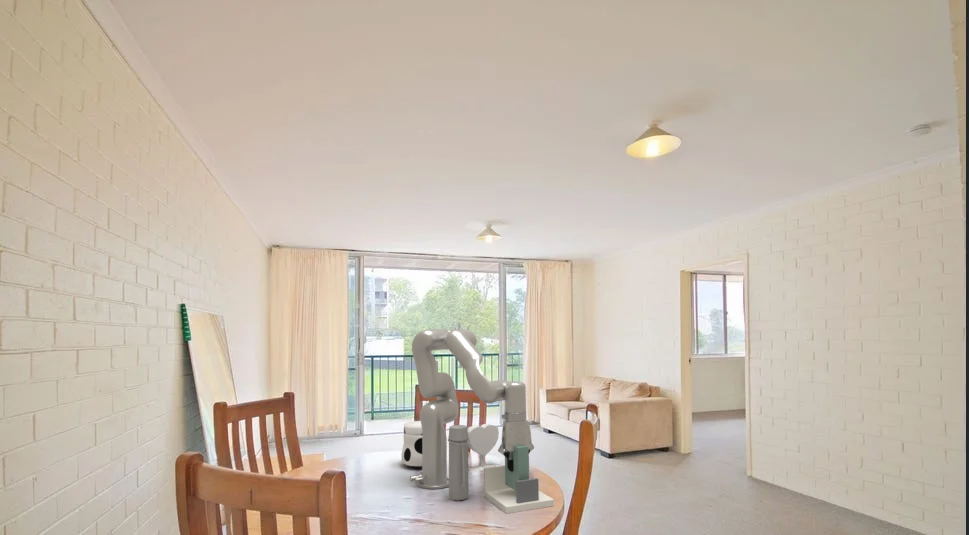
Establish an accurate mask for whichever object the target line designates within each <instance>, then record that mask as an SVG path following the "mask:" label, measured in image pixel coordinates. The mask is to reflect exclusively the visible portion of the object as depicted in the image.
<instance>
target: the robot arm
mask: <svg viewBox="0 0 969 535" xmlns="http://www.w3.org/2000/svg"><path fill="white" fill-rule="evenodd" d="M476 345H477V336H476V334H475V333H474V332H473V331H472V330H470V329H463V328H462V329H458V328H457V329H456V328H454V329H453V328H428V329H423V330H420V331H419V332H418V333H417V334H416V335H414V338H413V339H412V343H411V353H412V356H413V360H414V365H415V370H416V371H415V372H416V375H417V376H416V377H417V383H418V389H419V393H420V395H421V396H422V397H423V398H425V399H432V398H436V400H432V401H429V402H427V403H425V404H424V405H423V406H422V407H421V409H420V412H419V421H421V426H422V468H421V469H422V471H420V473H419V474H417V475H410V476H409V480H410V482H415V483H417V484H418V486H419V487H420V488H423V489H427V490H437V489H443V488H447V487H449V477H448V475H447V473H448V472H447V470H448V468H447V467H448V465H447V464H448V460H447V459H448V456H447V453H448V450H447V449H448V448H447V447H448V446H447V445H448V439H447V438H448V437H447V432H446V429H445V427H444V425H445V424H450V423H453V422H454V421H455V420H456V419H457V418H458V416H459V402H458V397H457V393H456V391H457V390H456V387H455V381H454V380H453V377H452V376H451V375H450V374H448V372H442V371H441V372H439V369H438V363H437V360H436V357H435V356H434V355H433V353H432V351H439V350H440V351H441V350H443V351H444V350H448V351H449V352H450V353H451V354H452V355H453V357H454V358H455V360H457V361H458V362H459V364H460V366H461V367H463V370H464V372H465V376H466V380H467V383H468V385H469V387H470V388H471V390H472V391H473V393H474V394H475V396H476V397H477V398H478V399H479V400H481V401H482V402H483V403H486V404H494V403H497V402H502V401H504V414H502V415H501V418H502V419H504V420H503V423H502V424H503V425H502V431H501V443H500V446H499V447H498V449H497V451H498V453H499V454H501V455H503V456H504V458H505V457H506V458H507V468H508V470H509V471H511V472H513V460H512V455H513V451H515V446H523V445H525V446H528V449H529V454H530V453H531V452H532V451H533V450H534V449H535V446H534V444H533V442H532V433H531V426H530V422H529V420H528V419H527V398H526V397H527V394H526V392H527V388H526V384H525V382H523V381H509V380H504V379H496V380H491V381H490V380H489V379H488V377H487V376H485V374H484V372H483V371H482V369H481V364H482V362H483V359H484V357H483V356H484V355H482V353H481V352H480V351H479V349H478V348H477V347H476ZM505 449H506V450H507V451H506V452H505Z"/></svg>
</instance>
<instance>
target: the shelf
mask: <svg viewBox="0 0 969 535" xmlns="http://www.w3.org/2000/svg"><path fill="white" fill-rule="evenodd" d="M539 487H540V486H539V478H538V477H535V478H531V477H529V479H526V480H519V481H516V491H515V490H513V489H512V488H510V487H509V486H507V485H506V484H505V464H504V465H495V466H494V467H486V468H484V470H483V497H484V498H485V497H486V500H488V501H489V500H490V501H489V502H491V503H492V504H493V505H495V506H496V507H497V508H498V509H500V511H502V510H503V512H504V514H506V513H507V514H512V512H513V513H518V512H524V511H530V509H531V510H536V508H537V509H541V508H542V509H543V508H549V507H555V500H554V499H553V498H552V497H550V496H548V495H547V494H545V493H544V492H542V491H540V489H539Z"/></svg>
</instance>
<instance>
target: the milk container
mask: <svg viewBox="0 0 969 535" xmlns="http://www.w3.org/2000/svg"><path fill="white" fill-rule="evenodd" d="M400 456H401V462H402V464H403V466H406V467H408V468H413V469H422V426H421V420H413V421H408V422H406V423H404V425H403V445H402V450H401V455H400Z"/></svg>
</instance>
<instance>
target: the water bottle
mask: <svg viewBox="0 0 969 535" xmlns="http://www.w3.org/2000/svg"><path fill="white" fill-rule="evenodd" d="M467 429H468V426H467V425H466V424H456V425H455V424H454V425H450V426H449V428H448V437H447V438H448V439H447V443H448V479H449V486H448V497H449V499H450V500H452V501H455V500H456V501H458V502H459V501H460V500H462V501H466V500H467V499H468V498H469V486H470V485H469V470H468V469H469V447H468V443H469V442H470V440H469V439H468V430H467ZM468 440H469V442H468Z"/></svg>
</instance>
